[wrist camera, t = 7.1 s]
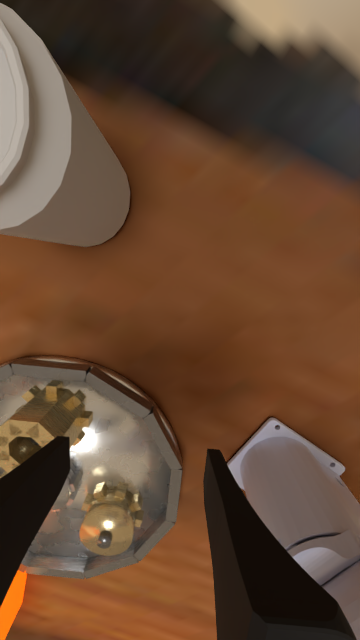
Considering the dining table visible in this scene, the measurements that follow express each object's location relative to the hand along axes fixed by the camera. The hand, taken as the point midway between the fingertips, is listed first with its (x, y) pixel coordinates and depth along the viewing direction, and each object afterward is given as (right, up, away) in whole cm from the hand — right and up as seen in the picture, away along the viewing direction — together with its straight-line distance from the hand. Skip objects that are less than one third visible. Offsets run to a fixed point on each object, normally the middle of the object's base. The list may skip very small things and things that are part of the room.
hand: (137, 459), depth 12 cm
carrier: (-10, -8, +12) cm, 17 cm away
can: (-5, +17, +6) cm, 19 cm away
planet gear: (-9, -1, +10) cm, 13 cm away
